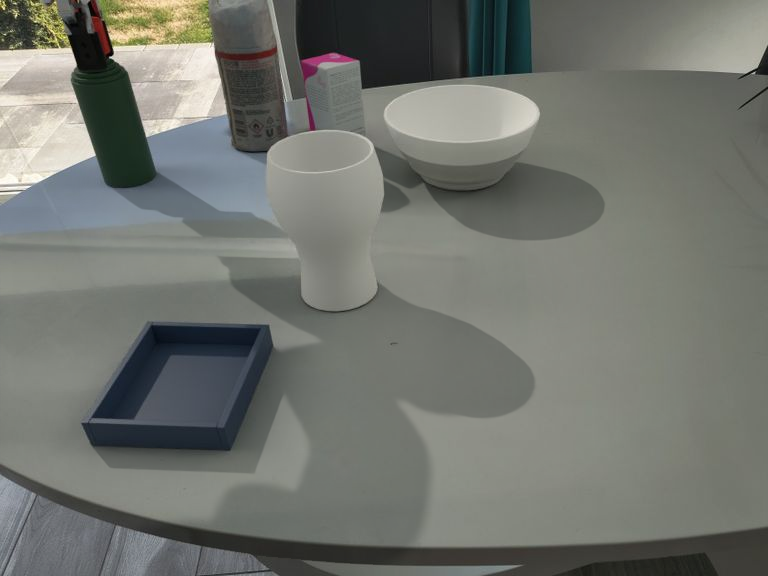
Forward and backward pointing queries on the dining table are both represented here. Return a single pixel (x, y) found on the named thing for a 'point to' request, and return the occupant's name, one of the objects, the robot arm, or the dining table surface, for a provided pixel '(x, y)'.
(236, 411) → the tray
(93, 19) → the cap
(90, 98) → the sauce bottle
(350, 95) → the supplement box
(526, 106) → the bowl
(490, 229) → the dining table surface
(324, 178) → the cup
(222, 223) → the dining table surface
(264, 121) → the spray can
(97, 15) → the robot arm
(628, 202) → the dining table surface
